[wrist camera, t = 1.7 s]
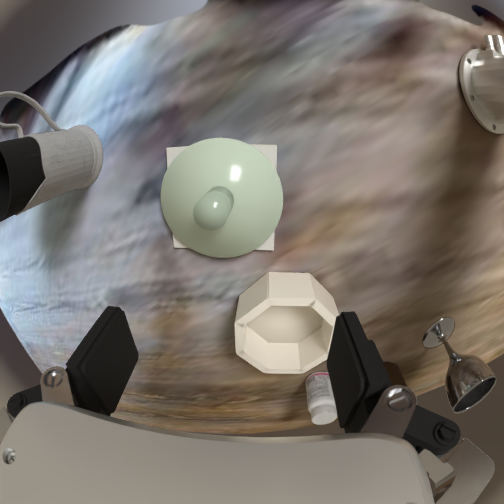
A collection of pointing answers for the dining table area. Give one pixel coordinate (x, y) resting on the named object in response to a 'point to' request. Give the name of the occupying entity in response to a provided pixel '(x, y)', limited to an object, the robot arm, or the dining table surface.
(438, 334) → the wine glass
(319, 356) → the bowl
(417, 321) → the dining table surface
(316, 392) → the pill bottle
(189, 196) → the lid
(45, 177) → the glass holder
